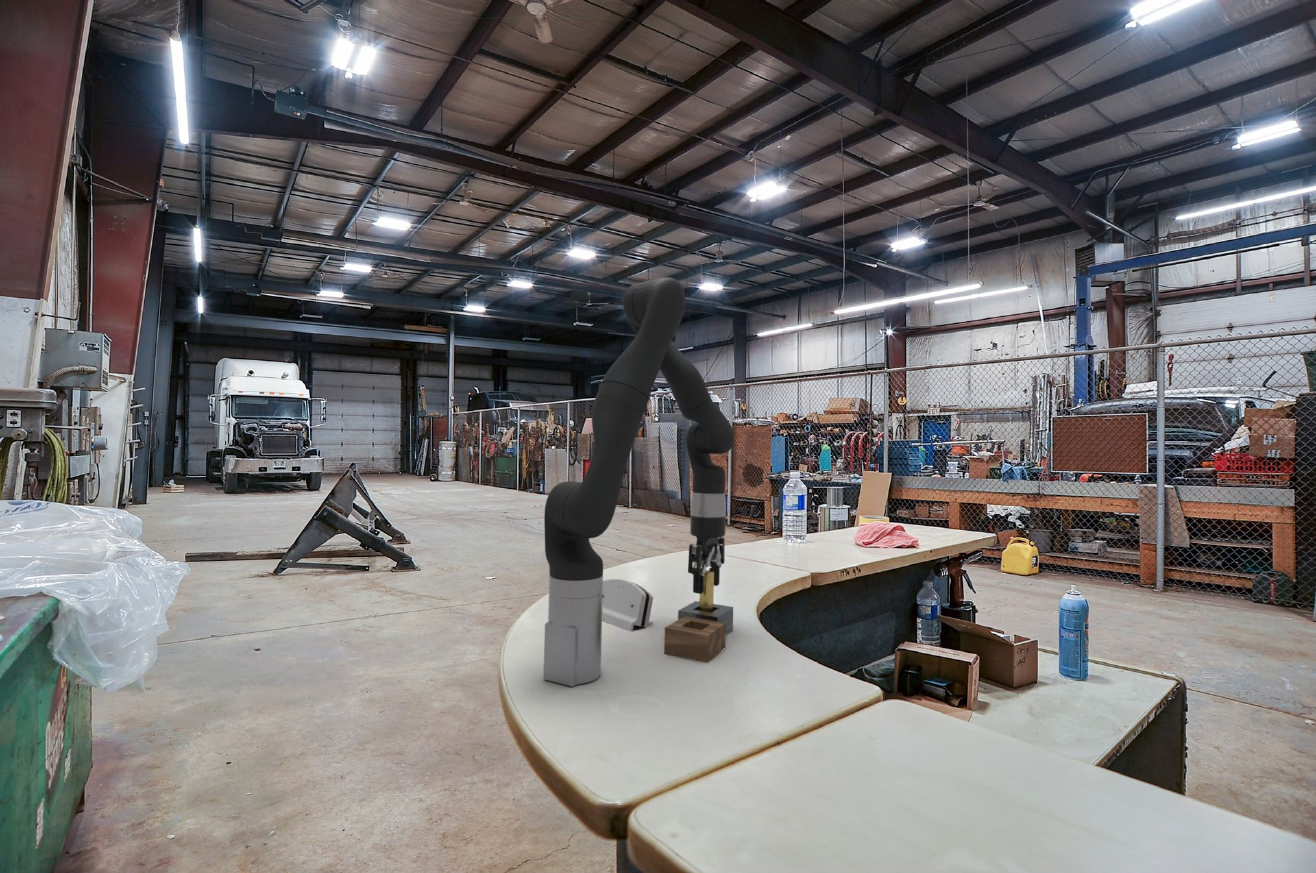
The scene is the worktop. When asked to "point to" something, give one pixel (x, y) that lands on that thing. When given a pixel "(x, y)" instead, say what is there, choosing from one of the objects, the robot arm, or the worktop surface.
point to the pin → (707, 592)
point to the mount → (695, 638)
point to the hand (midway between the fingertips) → (706, 589)
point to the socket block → (709, 614)
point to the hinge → (625, 604)
